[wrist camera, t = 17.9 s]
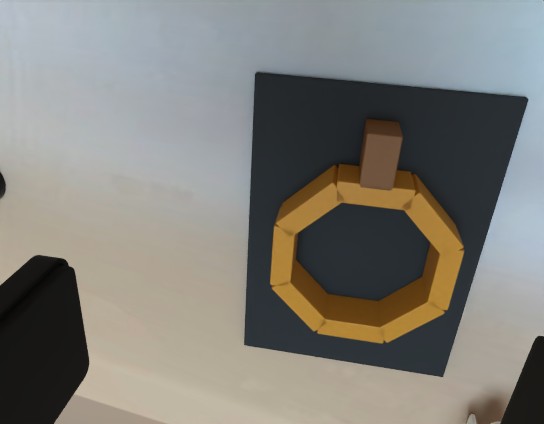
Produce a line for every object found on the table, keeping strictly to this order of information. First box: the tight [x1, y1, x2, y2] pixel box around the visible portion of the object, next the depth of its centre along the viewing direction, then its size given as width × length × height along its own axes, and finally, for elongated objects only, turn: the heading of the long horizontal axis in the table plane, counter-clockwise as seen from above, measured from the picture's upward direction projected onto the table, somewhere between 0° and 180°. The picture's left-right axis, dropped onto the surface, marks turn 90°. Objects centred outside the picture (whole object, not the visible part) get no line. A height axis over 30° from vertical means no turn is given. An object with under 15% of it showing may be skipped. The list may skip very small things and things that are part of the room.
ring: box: [270, 119, 464, 343], centre depth 31 cm, size 15×12×3 cm
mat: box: [244, 72, 528, 377], centre depth 33 cm, size 22×16×1 cm
